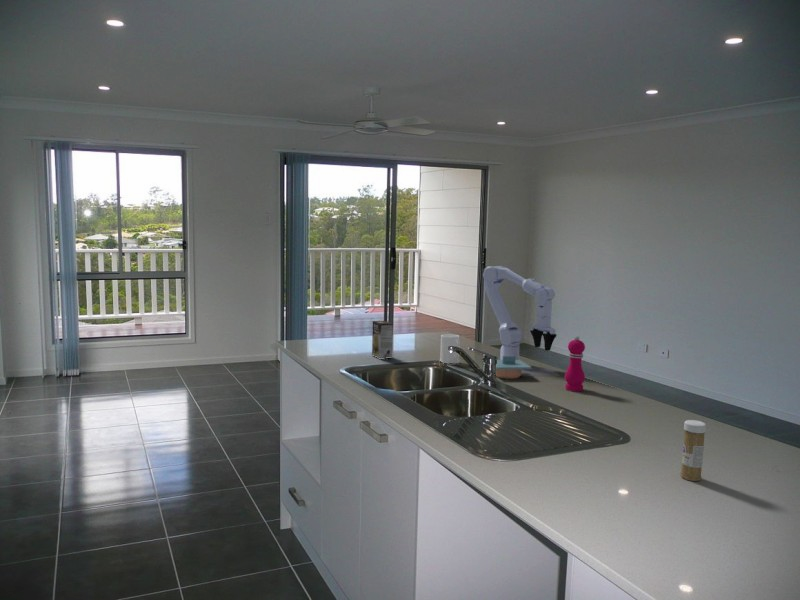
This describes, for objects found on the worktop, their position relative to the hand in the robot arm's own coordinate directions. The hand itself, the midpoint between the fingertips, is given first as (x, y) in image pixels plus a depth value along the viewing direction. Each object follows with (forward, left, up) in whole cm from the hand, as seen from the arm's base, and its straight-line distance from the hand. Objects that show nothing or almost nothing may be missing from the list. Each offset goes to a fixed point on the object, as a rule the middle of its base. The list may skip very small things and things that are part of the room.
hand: (542, 348), depth 257 cm
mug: (-16, -35, -10) cm, 40 cm away
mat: (+3, -4, -9) cm, 11 cm away
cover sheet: (+10, -18, -5) cm, 21 cm away
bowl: (+10, -18, -9) cm, 23 cm away
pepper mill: (+31, +1, -10) cm, 32 cm away
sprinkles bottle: (+114, -6, -10) cm, 115 cm away
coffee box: (-29, -64, -10) cm, 71 cm away
